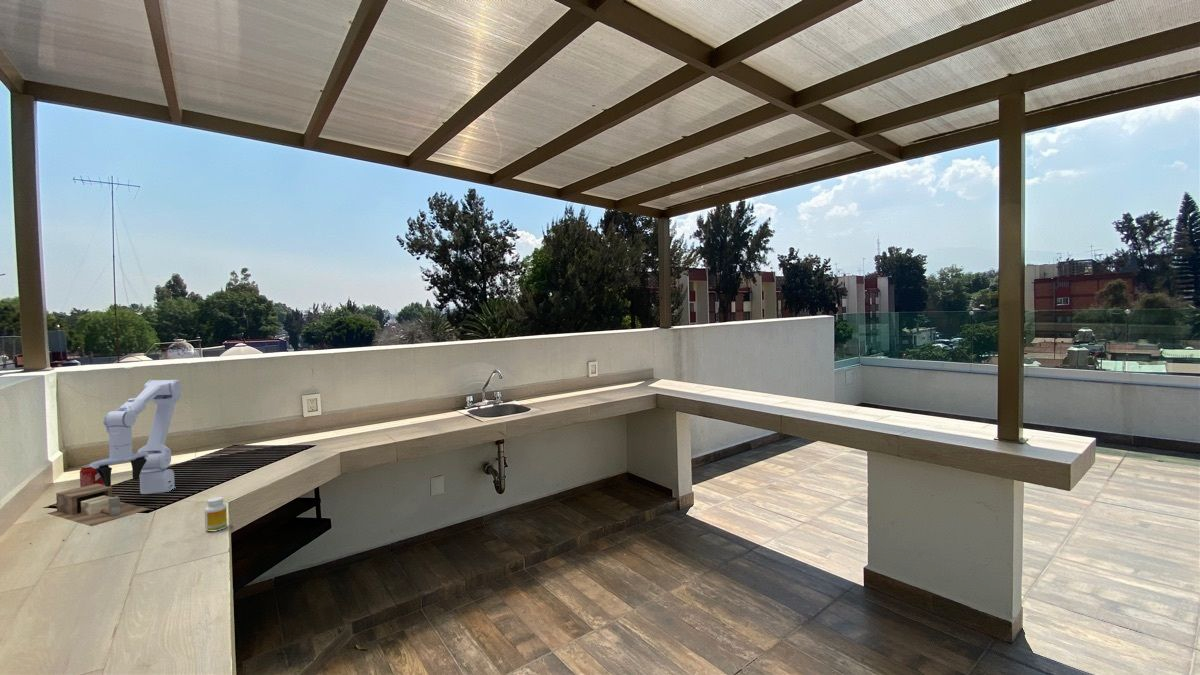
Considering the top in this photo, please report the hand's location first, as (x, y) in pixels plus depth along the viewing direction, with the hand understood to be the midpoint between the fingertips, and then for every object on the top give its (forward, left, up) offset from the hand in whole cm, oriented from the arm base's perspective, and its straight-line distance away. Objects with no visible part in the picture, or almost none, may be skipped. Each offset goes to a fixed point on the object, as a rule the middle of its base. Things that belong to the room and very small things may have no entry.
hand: (122, 482), depth 169 cm
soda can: (+20, -18, -10) cm, 29 cm away
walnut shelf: (+5, +3, -9) cm, 11 cm away
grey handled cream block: (+2, +5, -8) cm, 10 cm away
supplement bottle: (-40, +26, -10) cm, 49 cm away
